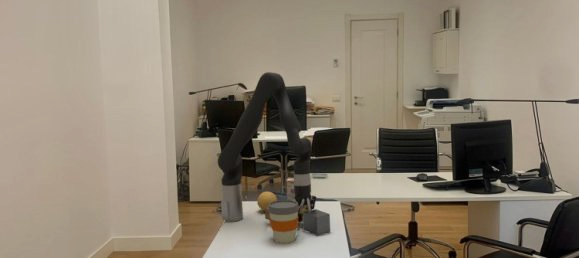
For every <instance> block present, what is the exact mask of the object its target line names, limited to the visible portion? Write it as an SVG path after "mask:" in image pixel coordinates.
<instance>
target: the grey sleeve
mask: <svg viewBox="0 0 579 258" xmlns="http://www.w3.org/2000/svg"><path fill="white" fill-rule="evenodd" d="M303 221H304V222H303V231H305V232H307V233H310V234H312V235H314V236H316V237H317V236H323V235H325V234H329V233H331V216H330V213H329V212H328V213H327V212H326V211H321V210H319V209H316V208H314V209H312V210H311V211H307V212H303Z"/></svg>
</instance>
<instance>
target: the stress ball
mask: <svg viewBox="0 0 579 258" xmlns="http://www.w3.org/2000/svg"><path fill="white" fill-rule="evenodd" d="M274 201H278V199H277V196H276V195H275V194H274V193H273V192H271V191H263V192H262V193H260V194H259V195H258V197H257V202H256V203H257V206H258V207H259V209H260V210H261V211H263V212H265V208H267V207H269V204H270V203H271V202H274Z"/></svg>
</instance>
